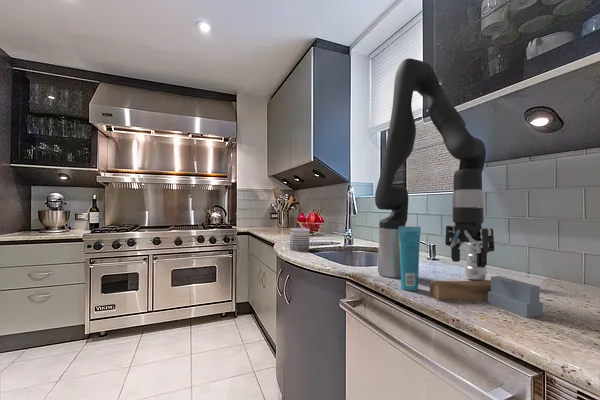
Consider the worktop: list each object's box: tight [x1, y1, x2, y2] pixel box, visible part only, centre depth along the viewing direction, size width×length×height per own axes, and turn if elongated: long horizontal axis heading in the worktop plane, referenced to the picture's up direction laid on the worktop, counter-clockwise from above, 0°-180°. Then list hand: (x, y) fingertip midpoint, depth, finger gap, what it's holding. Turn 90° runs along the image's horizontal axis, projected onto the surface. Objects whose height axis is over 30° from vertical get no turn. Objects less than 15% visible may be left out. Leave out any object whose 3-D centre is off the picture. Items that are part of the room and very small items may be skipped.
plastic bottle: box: [464, 223, 487, 281], centre depth 101 cm, size 6×7×20 cm
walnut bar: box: [429, 280, 491, 302], centre depth 80 cm, size 4×20×4 cm, turn 96°
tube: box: [399, 225, 421, 292], centre depth 88 cm, size 7×5×19 cm, turn 107°
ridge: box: [487, 275, 544, 318], centre depth 72 cm, size 10×5×7 cm, turn 15°
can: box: [289, 227, 311, 252], centre depth 163 cm, size 11×11×12 cm
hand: (468, 264), depth 80 cm, fingers open, 8 cm apart
